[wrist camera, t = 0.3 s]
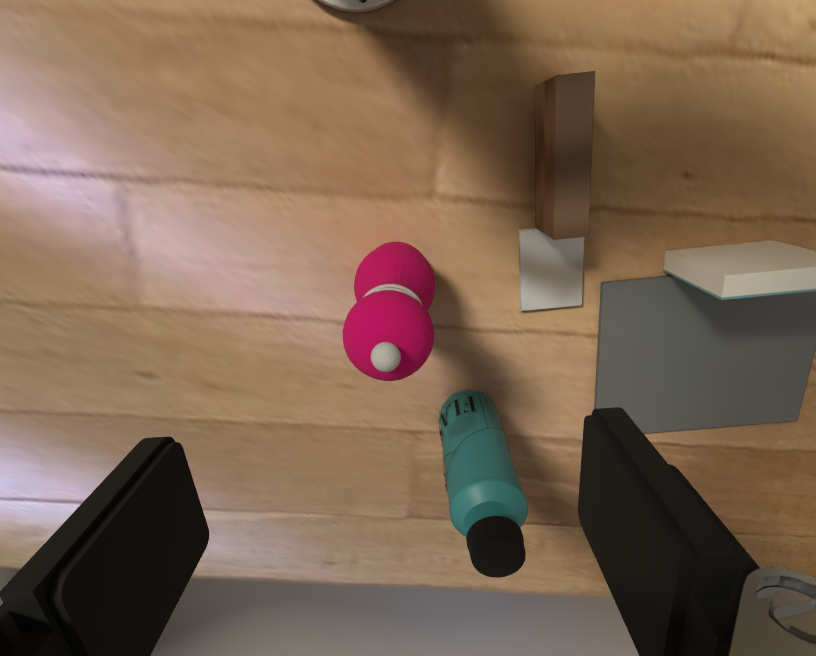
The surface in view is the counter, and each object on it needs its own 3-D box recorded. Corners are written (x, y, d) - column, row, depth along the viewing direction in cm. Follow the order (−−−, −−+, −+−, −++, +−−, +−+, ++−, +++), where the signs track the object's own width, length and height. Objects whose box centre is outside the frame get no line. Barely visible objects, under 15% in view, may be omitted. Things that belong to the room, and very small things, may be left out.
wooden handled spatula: (516, 88, 39) (533, 78, 33) (587, 79, 38) (617, 68, 33) (519, 308, 46) (534, 331, 40) (579, 303, 46) (603, 324, 40)
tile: (665, 250, 44) (725, 275, 35) (772, 239, 43) (859, 262, 35) (663, 271, 44) (721, 299, 36) (768, 260, 44) (852, 287, 36)
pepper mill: (448, 271, 45) (474, 360, 26) (398, 321, 47) (390, 438, 28) (393, 220, 43) (379, 277, 24) (344, 275, 45) (296, 366, 26)
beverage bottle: (472, 370, 49) (509, 508, 30) (508, 411, 50) (564, 565, 32) (425, 403, 50) (432, 554, 32) (461, 442, 52) (488, 606, 33)
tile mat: (601, 282, 45) (603, 283, 44) (832, 259, 44) (837, 260, 43) (592, 434, 51) (594, 437, 51) (793, 418, 50) (797, 420, 50)
